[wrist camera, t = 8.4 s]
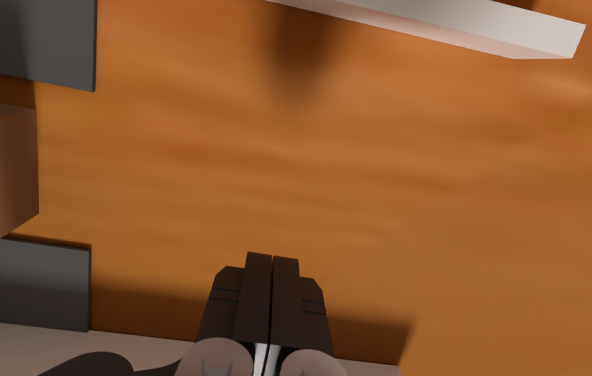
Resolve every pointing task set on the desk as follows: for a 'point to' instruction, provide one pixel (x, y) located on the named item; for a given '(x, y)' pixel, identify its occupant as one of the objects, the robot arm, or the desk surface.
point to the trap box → (81, 75)
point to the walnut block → (17, 167)
